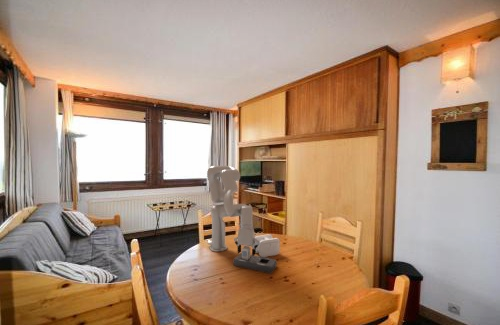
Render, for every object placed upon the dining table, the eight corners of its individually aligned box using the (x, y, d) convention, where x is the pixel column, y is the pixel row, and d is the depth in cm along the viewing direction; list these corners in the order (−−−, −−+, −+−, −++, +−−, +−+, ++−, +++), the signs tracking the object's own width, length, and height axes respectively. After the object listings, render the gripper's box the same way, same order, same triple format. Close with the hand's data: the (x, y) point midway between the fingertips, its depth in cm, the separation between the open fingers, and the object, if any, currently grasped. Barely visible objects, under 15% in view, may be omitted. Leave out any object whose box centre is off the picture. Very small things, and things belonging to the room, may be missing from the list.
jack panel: (233, 265, 141) (233, 258, 141) (241, 259, 150) (241, 252, 150) (270, 273, 131) (270, 266, 131) (276, 266, 140) (276, 259, 140)
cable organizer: (272, 249, 167) (272, 233, 167) (280, 255, 157) (280, 238, 157) (253, 253, 160) (253, 236, 160) (260, 258, 151) (260, 241, 151)
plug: (241, 265, 141) (241, 247, 141) (244, 262, 146) (244, 245, 146) (247, 266, 140) (247, 249, 140) (250, 263, 144) (250, 246, 144)
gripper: (231, 225, 143) (231, 253, 143) (257, 229, 136) (257, 258, 136) (236, 223, 150) (237, 249, 150) (261, 226, 143) (261, 253, 143)
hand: (246, 253), depth 143 cm, fingers open, 9 cm apart
